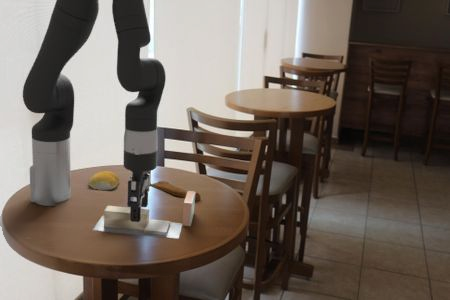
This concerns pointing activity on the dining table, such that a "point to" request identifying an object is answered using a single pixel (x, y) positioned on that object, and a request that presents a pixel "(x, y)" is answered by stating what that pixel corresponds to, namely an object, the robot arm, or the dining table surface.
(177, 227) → the plate
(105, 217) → the beige stepped block
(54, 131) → the robot arm
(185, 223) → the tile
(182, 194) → the primitive tool
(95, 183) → the bread roll
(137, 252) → the dining table surface
